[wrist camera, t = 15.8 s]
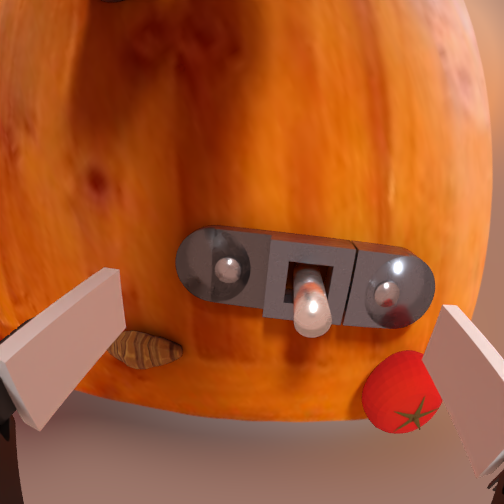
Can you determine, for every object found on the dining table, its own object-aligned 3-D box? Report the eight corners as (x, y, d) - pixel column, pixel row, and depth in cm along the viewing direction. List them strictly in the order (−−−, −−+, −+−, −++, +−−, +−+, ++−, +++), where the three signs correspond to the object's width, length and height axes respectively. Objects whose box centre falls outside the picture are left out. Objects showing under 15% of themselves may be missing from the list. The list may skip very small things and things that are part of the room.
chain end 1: (181, 289, 39) (174, 298, 36) (181, 221, 36) (174, 226, 33) (336, 309, 37) (338, 319, 34) (349, 240, 34) (353, 246, 32)
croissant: (181, 326, 40) (168, 345, 36) (188, 364, 42) (177, 385, 38) (102, 319, 42) (86, 334, 37) (113, 355, 44) (98, 372, 39)
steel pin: (291, 282, 36) (290, 335, 25) (295, 257, 36) (297, 302, 24) (317, 286, 36) (327, 339, 25) (321, 261, 35) (335, 306, 24)
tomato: (400, 405, 40) (416, 451, 30) (343, 389, 40) (351, 441, 30) (443, 349, 37) (472, 392, 27) (386, 327, 37) (410, 375, 27)
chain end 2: (265, 301, 38) (262, 319, 33) (273, 231, 35) (270, 240, 31) (412, 315, 36) (424, 332, 31) (429, 251, 33) (445, 262, 29)
